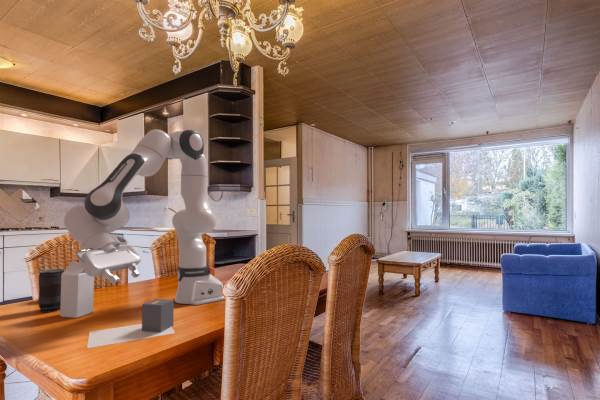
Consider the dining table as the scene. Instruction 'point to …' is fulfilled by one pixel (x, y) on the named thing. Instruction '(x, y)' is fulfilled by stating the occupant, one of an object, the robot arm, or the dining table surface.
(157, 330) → the block
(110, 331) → the workboard
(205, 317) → the dining table surface
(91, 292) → the milk carton
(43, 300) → the camera lens
